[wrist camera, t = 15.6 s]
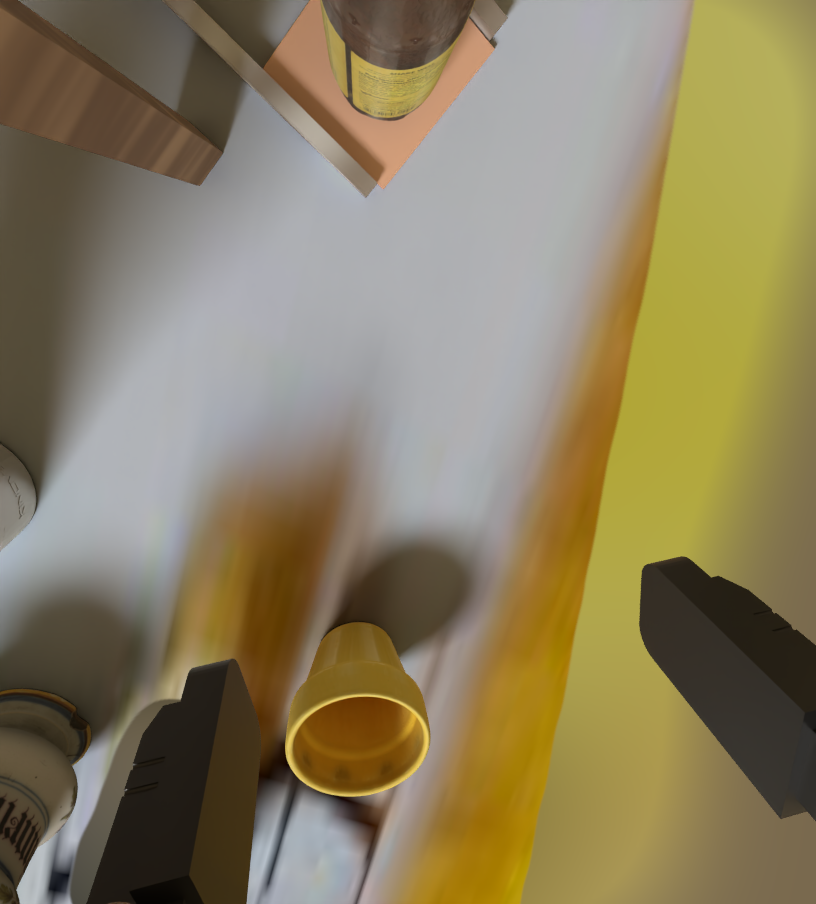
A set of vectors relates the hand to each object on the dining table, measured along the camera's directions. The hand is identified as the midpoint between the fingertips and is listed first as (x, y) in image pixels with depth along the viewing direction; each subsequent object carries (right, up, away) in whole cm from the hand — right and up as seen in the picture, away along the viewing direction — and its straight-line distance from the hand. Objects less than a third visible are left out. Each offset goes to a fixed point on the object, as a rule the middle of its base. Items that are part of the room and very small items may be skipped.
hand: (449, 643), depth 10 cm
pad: (-2, +26, +20) cm, 33 cm away
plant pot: (-5, -14, +37) cm, 40 cm away
